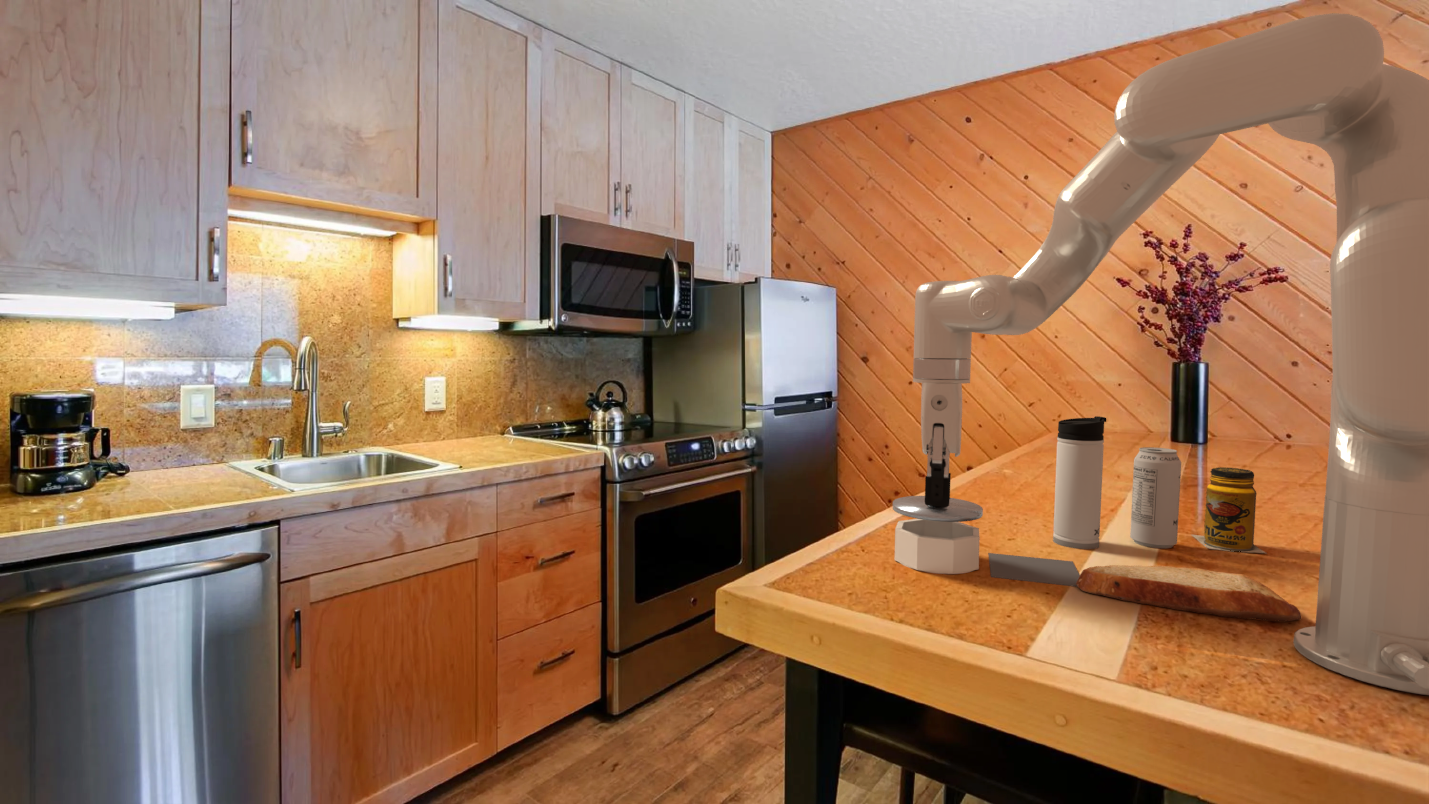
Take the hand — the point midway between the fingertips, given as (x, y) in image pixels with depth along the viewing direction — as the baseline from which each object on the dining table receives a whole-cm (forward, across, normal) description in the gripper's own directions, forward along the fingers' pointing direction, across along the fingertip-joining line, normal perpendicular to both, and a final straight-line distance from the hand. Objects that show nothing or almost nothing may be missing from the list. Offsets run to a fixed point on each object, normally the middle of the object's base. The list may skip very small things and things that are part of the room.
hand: (937, 501), depth 93 cm
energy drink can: (+9, +21, -31) cm, 39 cm away
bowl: (+9, 0, 0) cm, 9 cm away
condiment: (+9, +26, -42) cm, 50 cm away
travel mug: (+9, +17, -20) cm, 28 cm away
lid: (+1, 0, 0) cm, 1 cm away
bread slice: (+9, -5, -28) cm, 30 cm away
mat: (+9, +1, -13) cm, 15 cm away
